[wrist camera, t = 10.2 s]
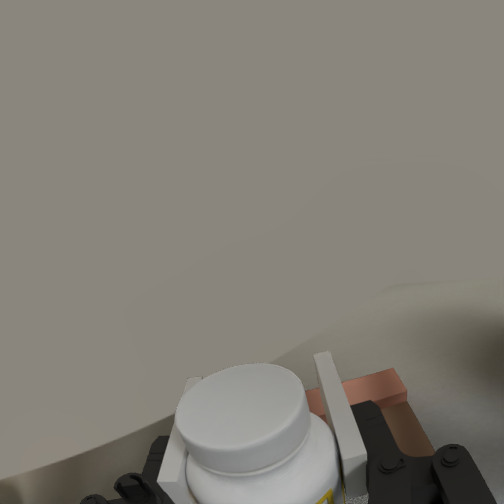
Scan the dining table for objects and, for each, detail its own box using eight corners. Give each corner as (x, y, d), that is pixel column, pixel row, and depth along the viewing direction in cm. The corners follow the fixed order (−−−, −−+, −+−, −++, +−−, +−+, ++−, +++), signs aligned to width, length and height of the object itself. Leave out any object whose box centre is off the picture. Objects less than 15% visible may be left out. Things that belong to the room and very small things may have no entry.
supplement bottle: (267, 483, 15) (216, 344, 12) (361, 500, 12) (353, 352, 10) (217, 554, 10) (119, 431, 8) (321, 587, 7) (285, 493, 5)
